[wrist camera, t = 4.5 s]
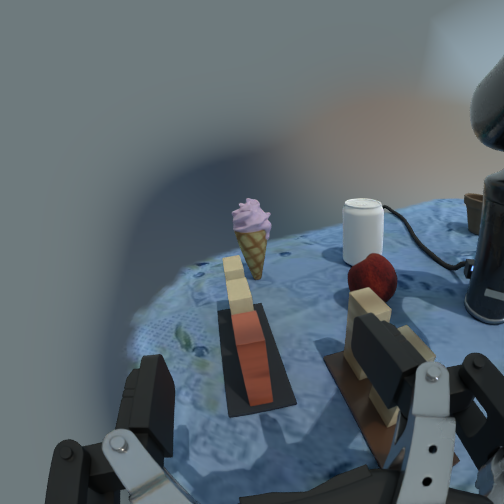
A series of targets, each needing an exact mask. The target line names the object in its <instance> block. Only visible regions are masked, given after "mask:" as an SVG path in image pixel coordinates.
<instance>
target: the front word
mask: <svg viewBox="0 0 504 504" xmlns="http://www.w3.org/2000/svg"><path fill="white" fill-rule="evenodd" d="M391 310H392V309H391V308H390V307H389V306H388V305H387V304H386V303H385V302H384V301H383V300H382V299H381V298H379V297H378V296H377V295H376V294H375V293H374V292H373V291H372V290H371V289H370V288H369V287H368V288H364V289H360V290H356V291H352V292H349V304H348V317H347V328H346V338H345V347H344V351H341V352H338V353H334V354H331V355H327V356H324V357H323V359H324V361H325V363H326V365H327V366H328V368H329V370H330V372H331V374H332V376H333V378H334V380H335V382H336V384H337V385H338V387H339V389H340V391H341V393H342V395H343V397H344V399H345V401H346V403H347V405H348V407H349V408H350V410H351V412H352V414H353V416H354V418H355V420H356V422H357V424H358V426H359V428H360V430H361V432H362V434H363V436H364V438H365V440H366V441H367V443H368V445H369V447H370V449H371V451H372V453H373V455H374V457H375V459H376V461H377V463H378V465H379V467H380V469H383V467H384V464H385V461H386V459H387V457H388V454H389V452H390V449H391V445H392V441H393V436H394V432H395V427H396V422H397V417H398V412H399V410H400V409H399V408H398V406H395V407H393V408H391V409H387V407H386V405H385V404H384V402H383V401H382V399H381V398H380V396H379V394H378V393H377V391H376V390H375V388H374V387H373V385H372V384H371V382H370V380H369V379H368V377H367V376H366V374H365V373H364V371H363V370H362V368H361V367H360V365H359V364H358V362H357V361H356V359H355V358H354V356H353V353H352V350H351V340H352V331H353V322H354V318H355V317H357V316H360V315H364V314H367V313H370V312H372V313H374V314H375V316H376V317H377V318H378V319H379V320H380V321H383V320H385V321H387V322H389V321H390V316H391ZM397 329H398V330H399V331H400V332H401V335H402V334H403V335H404V337H405V338H406V340H408V341H409V342H410V343H411V344H412V345H413V346H414V347H415V349H416V350H417V351H418V352H419V353H420V354H421V355H422V356H423V357H424V359H425V360H426V361H427V362H429V361H434V360H435V358H436V355H435V354H434V353H433V352H432V351H431V350H430V349H429V347H428V346H427V345H426V344H425V343H424V342H423V341H422V340H421V339H420V338H419V337H418V336H417V335H416V334H415V333H414V332H413V331H412V330H411V329H410V328H409V327H408V326H407V325H405V326H402V327H399V328H397ZM459 461H460V460H459V458H458V457H457V455H456V454H455V452H454V455H453V464H452V467H453V466H454V465H456V464H457V463H458V462H459Z"/></svg>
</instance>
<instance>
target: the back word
mask: <svg viewBox="0 0 504 504" xmlns="http://www.w3.org/2000/svg"><path fill="white" fill-rule="evenodd" d="M223 265H224V272H225V278H226V286H227V292H228V299H229V305H230V309H226V310H220V311H218V321H219V332H220V342H221V352H222V362H223V371H224V380H225V389H226V397H227V405H228V413H229V417H230V418H231V417H237V416H243V415H249V414H255V413H260V412H265V411H270V410H274V409H279V408H283V407H288V406H292V405H296V404H297V402H296V399H295V396H294V394H293V391H292V388H291V385H290V382H289V380H288V377H287V374H286V371H285V368H284V366H283V363H282V360H281V357H280V354H279V352H278V349H277V346H276V343H275V340H274V337H273V335H272V332H271V329H270V326H269V323H268V320H267V318H266V315H265V312H264V309H263V306H262V303H258V304H253V301H252V296H251V292H250V289H249V286H248V283H247V279H246V278H245V276H244V270H243V266H242V263H241V259H240V256H239V255H238V256H232V257H226V258H223ZM255 310H256V312H257V315H258V319H259V322H260V325H261V328H262V332H263V335H264V338H265V343H266V351H267V358H268V366H269V374H270V382H271V389H272V397H273V402H270V403H266V404H261V405H255V406H250V404H249V400H248V395H247V391H246V387H245V383H244V378H243V374H242V370H241V365H240V361H239V356H238V352H237V347H236V342H235V336H234V330H233V324H232V318H231V315H234V314H239V313H245V312H250V311H255Z"/></svg>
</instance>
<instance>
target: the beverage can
mask: <svg viewBox="0 0 504 504" xmlns="http://www.w3.org/2000/svg"><path fill="white" fill-rule="evenodd" d="M383 225H384V209H383V207H382V206H381V202H380V201H377V200H373V199H364V198H361V199H360V198H359V199H351V200H347V201H346V202H345V206H344V207H343V259H344V261H345V262H346V263H348V264H350V265H352V266H354V265H355V264H357V263H359V262H361V261H363V260H364V259H366V257H367V256H368V255H369V254H371V253H377V254H380V255H382V246H383Z"/></svg>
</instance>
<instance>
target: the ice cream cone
mask: <svg viewBox="0 0 504 504" xmlns="http://www.w3.org/2000/svg"><path fill="white" fill-rule="evenodd" d="M239 206H240V209H237V210H235V211H233V212H232V215H233V217H234V219H233V223H234V227H233V229H234V231H235V234H236V237H237V240H238V243H239V246H240V248H241V251H242V253H243V256H244V258H245V260H246V263H247V265H248V267H249V269H250V271H251V273H252V275H253V278H254V279H255V280H259V279H261V276H262V270H263V265H264V259H265V252H266V245H267V240H268V239H269V232H270V230H271V223H270V222H269V221H268V218H269V215H271V213H269V212H267V213H265V212H264V211H262V209H261V208H260V207H259V206H260V203H259V202H258V201H257V200H254V199H250V198H247V199H246V203H245V204H242V203H239Z"/></svg>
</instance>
